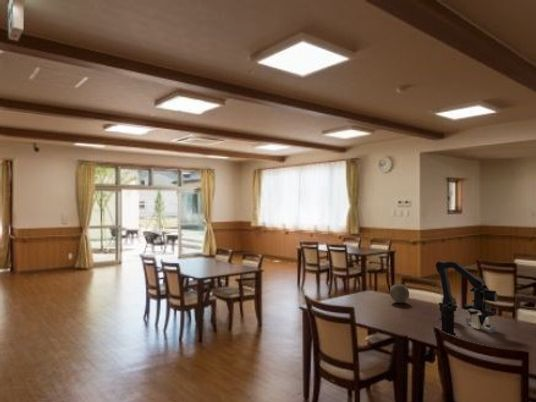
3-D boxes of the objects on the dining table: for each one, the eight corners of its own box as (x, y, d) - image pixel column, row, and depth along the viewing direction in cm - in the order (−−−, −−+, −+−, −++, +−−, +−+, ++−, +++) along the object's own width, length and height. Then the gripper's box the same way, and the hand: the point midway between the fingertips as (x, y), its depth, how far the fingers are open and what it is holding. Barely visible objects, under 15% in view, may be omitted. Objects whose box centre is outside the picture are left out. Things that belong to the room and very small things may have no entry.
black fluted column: (437, 336, 239) (437, 302, 239) (450, 336, 239) (450, 302, 239) (444, 341, 231) (444, 306, 231) (458, 340, 231) (458, 305, 231)
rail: (491, 333, 244) (491, 326, 244) (466, 323, 263) (466, 317, 263) (495, 333, 245) (495, 326, 245) (470, 323, 264) (470, 317, 264)
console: (482, 325, 261) (482, 318, 261) (476, 322, 266) (476, 316, 266) (488, 324, 262) (488, 318, 262) (482, 322, 267) (482, 316, 267)
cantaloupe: (393, 300, 326) (393, 281, 326) (411, 302, 318) (411, 283, 318) (387, 303, 314) (387, 284, 314) (405, 306, 306) (405, 286, 306)
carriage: (477, 329, 252) (477, 316, 252) (471, 326, 257) (471, 314, 257) (485, 328, 254) (485, 315, 254) (479, 325, 259) (479, 313, 259)
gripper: (501, 301, 249) (501, 327, 249) (477, 295, 267) (477, 318, 267) (486, 303, 246) (486, 328, 246) (463, 296, 264) (463, 320, 264)
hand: (478, 323), depth 256 cm, fingers closed on carriage, 5 cm apart
